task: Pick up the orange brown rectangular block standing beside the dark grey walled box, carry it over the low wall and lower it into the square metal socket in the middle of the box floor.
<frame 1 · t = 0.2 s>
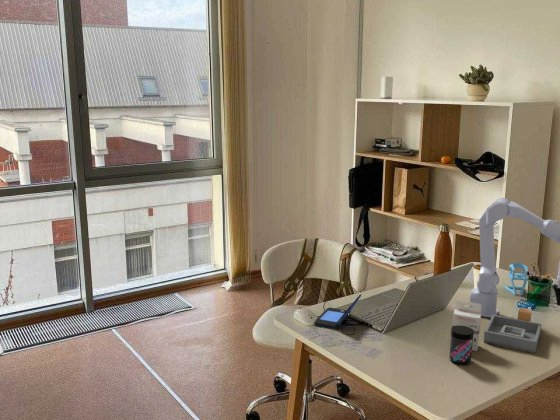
black screen device: (337, 321, 207), on the table
ink box: (464, 346, 187), on the table
orange brown rectangular block: (523, 326, 202), on the table
walled box: (512, 338, 192), on the table
supplement container: (459, 361, 177), on the table
chair: (516, 292, 236), on the table
socket: (512, 333, 192), in the walled box, point 1 cm above the table
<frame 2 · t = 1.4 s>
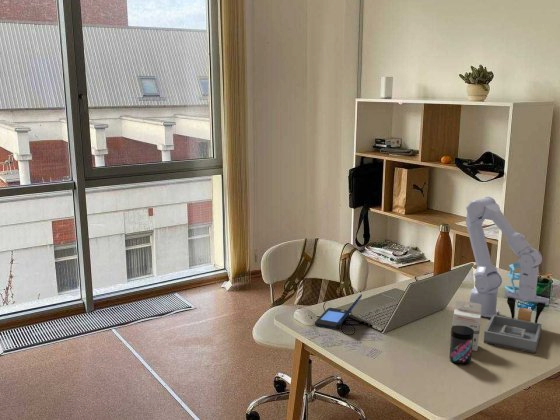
hand: (524, 320, 202), 2 cm above the table, tool pointing down, fingers open, 7 cm apart
nothing on the table moved.
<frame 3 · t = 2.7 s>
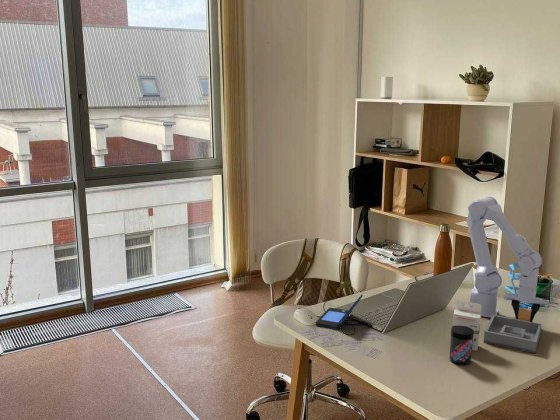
hand: (524, 321, 202), 2 cm above the table, tool pointing down, fingers closed on orange brown rectangular block, 4 cm apart
orange brown rectangular block: (523, 325, 202), on the table, touching gripper
everything else where it was.
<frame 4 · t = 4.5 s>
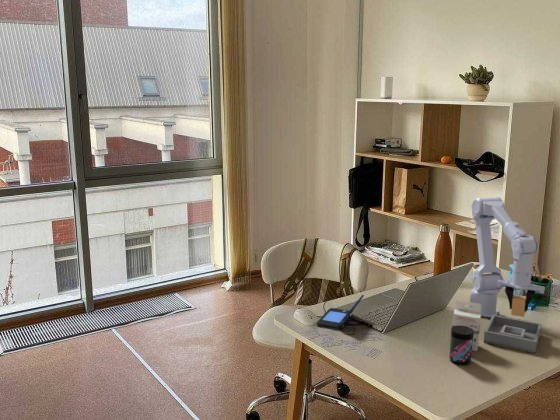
hand: (518, 309, 193), 9 cm above the table, tool pointing down, fingers closed on orange brown rectangular block, 4 cm apart
orange brown rectangular block: (518, 313, 193), point 8 cm above the table, touching gripper
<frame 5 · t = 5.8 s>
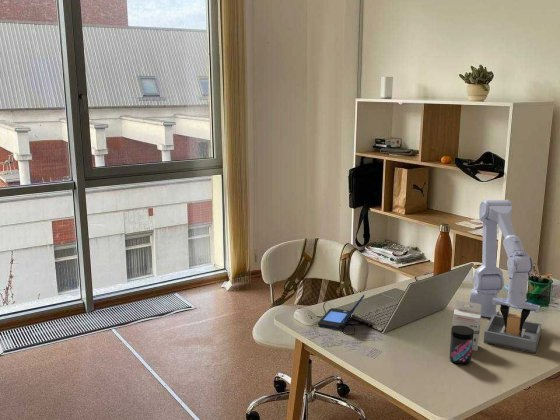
hand: (513, 327, 192), 4 cm above the table, tool pointing down, fingers closed on orange brown rectangular block, 4 cm apart
orange brown rectangular block: (513, 332, 192), point 2 cm above the table, touching gripper
when the fingers open (4 cm above the table, at t = 6.7 s): orange brown rectangular block drops 1 cm, resting on walled box.
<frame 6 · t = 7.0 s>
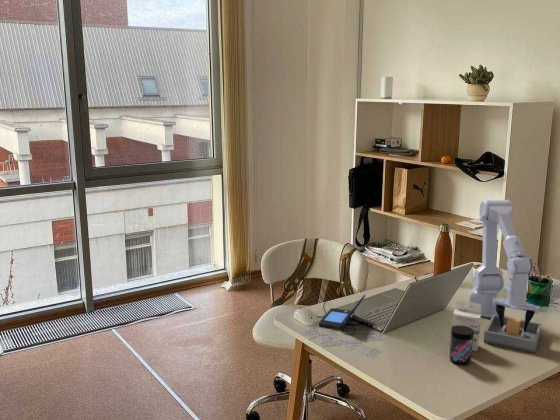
hand: (513, 328, 192), 4 cm above the table, tool pointing down, fingers open, 7 cm apart
orange brown rectangular block: (512, 336, 192), point 1 cm above the table, touching walled box
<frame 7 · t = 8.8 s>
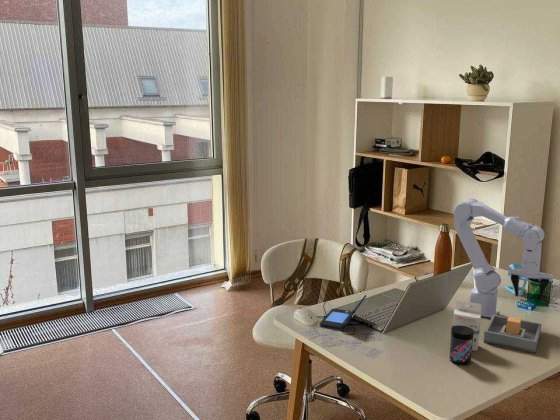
hand: (528, 297, 201), 10 cm above the table, tool pointing down, fingers open, 7 cm apart
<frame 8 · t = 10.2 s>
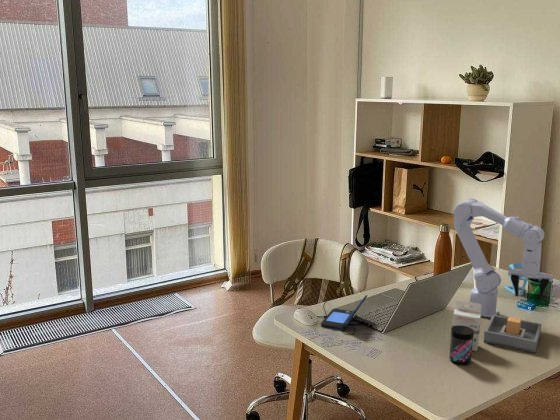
hand: (528, 297, 202), 10 cm above the table, tool pointing down, fingers open, 7 cm apart
at the end: orange brown rectangular block 0.3 cm off-centre on the walled box, point 0.8 cm above the walled box's base; orange brown rectangular block tilted 0°; the gripper is holding nothing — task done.
